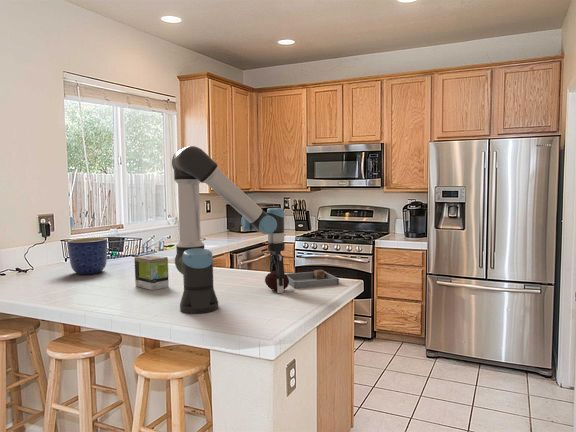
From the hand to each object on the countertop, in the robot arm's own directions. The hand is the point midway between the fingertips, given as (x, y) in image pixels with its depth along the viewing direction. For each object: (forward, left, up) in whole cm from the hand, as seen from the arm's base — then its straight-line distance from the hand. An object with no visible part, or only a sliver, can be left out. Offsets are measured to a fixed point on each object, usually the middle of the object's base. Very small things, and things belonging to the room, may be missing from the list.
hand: (277, 290), depth 215 cm
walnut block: (+26, +15, 0) cm, 30 cm away
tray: (+19, +9, 0) cm, 21 cm away
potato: (0, 0, -1) cm, 1 cm away
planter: (-89, +79, -1) cm, 119 cm away
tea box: (-55, +30, -1) cm, 63 cm away
